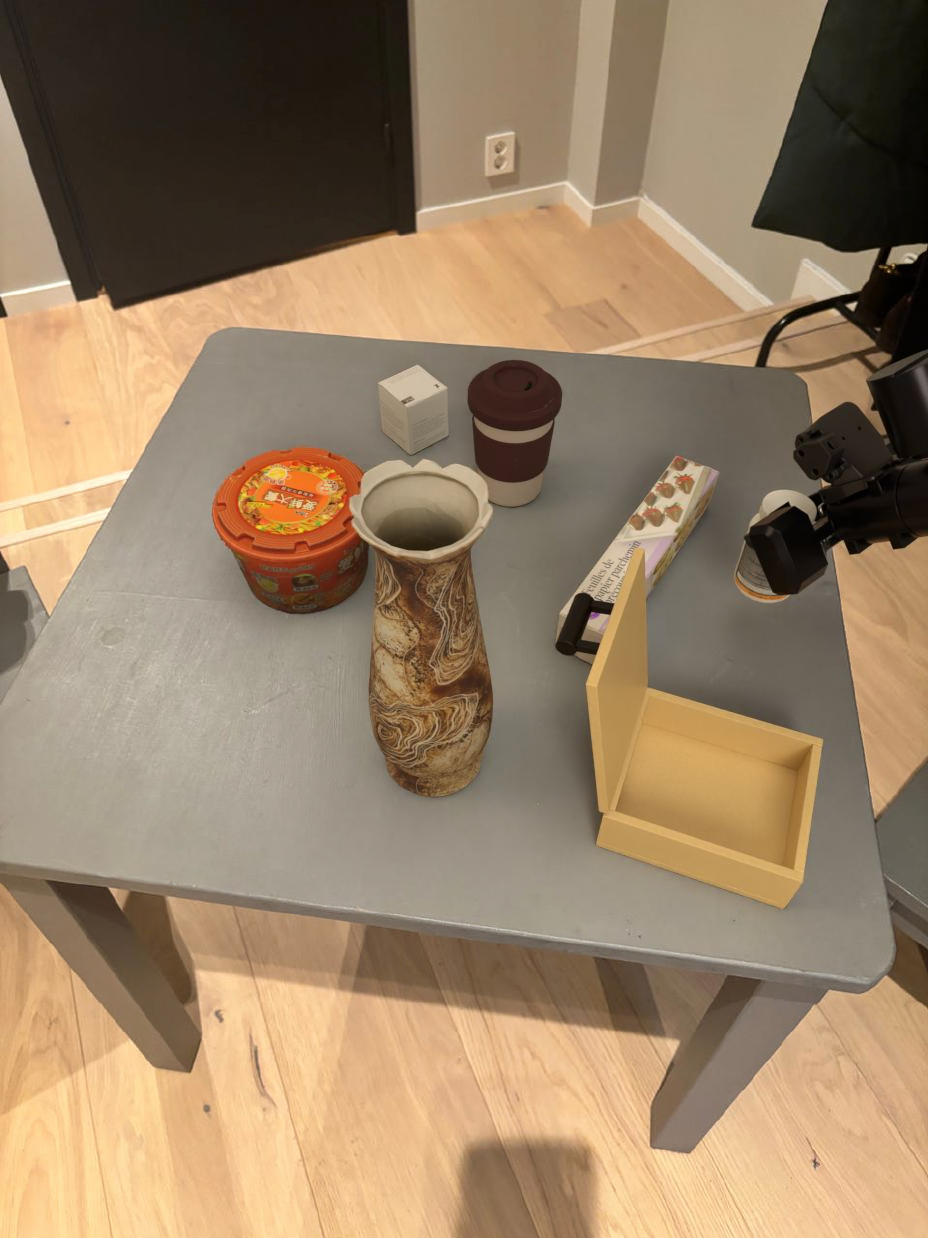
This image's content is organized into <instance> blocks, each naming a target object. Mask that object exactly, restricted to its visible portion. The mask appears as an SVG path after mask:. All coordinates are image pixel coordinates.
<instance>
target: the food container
mask: <svg viewBox="0 0 928 1238" xmlns="http://www.w3.org/2000/svg"><path fill="white" fill-rule="evenodd" d="M365 473H366V472H365V471H364V470H363V469H361V467H360V466H359V465H357V464H356V463H355V462H353V461H352V460H350V459H349V458H348V457H346V456H341V455H340V454H336V453H334V452H330V450H328V449H323V448H319V447H313V446H312V447H309V446H293V447H291V448H290V449H285V450H283V449H280V450H279V449H274V450H270V451H266V452H264V453H260V454H258V455H256V456H254V457H252V458H250V459H248V460H246V461H245V462H244V463H243V464H242V466H240V467H239V468H237V469H236V470H235V471H233V472H231V473H229V475H228V476H227V477H226V478H225V479H224V481H223V482H222V483H221V484H220V486H219V488H218V489H217V491H216V493H215V496H214V499H213V502H212V508H211V517H212V522H213V526H214V529H215V531H216V533H217V534H218V536H219V539H220V541H222V542H223V543H224V545H225V546H226V547H227V549H228V550H230V551H231V553H232V555H233V558H234V559H235V561H236V563H237V566H238V567H239V569H240V571H241V574H242V575H243V577H244V579H245V581H246V583H247V585H248V587H249V590H250V591H251V592H252V594H253V595H254V597H255V598H256V599H257V600H258V601H260V603H262V604H263V605H265V606H267V607H269V608H271V609H274V610H275V611H280V612H282V613H287V614H290V615H291V614H292V615H295V614H296V615H297V614H298V615H306V614H313V613H319V612H323V611H326V610H328V609H331V608H334V607H336V606H338V605H340V604H342V603H343V602H345V601H346V600H347V599H349V598H350V597H351V596H352V595H353V594H354V593H355V592H356V591H357V590H358V589H359V588H360V587H361V585H362V583H363V582H364V580H365V577H366V575H367V571H368V565H369V546H370V545H369V544H368V543H367V542H366V541H365V540H363V539H362V538H361V537H360V536H359V535H358V534H357V532H356V531H355V530H354V528H353V527H352V525H351V521H352V519H353V518H354V517H353V515H352V513H351V511H350V509H349V498H350V497H352V496H354V495H359V494H360V487H361V479H362V477H363V475H364V474H365Z"/></svg>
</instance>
